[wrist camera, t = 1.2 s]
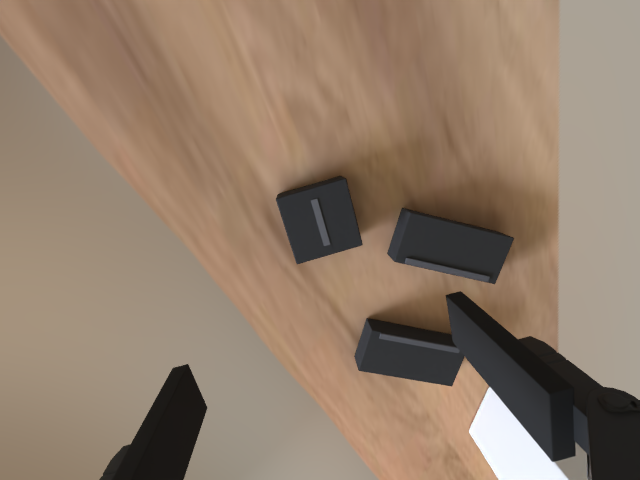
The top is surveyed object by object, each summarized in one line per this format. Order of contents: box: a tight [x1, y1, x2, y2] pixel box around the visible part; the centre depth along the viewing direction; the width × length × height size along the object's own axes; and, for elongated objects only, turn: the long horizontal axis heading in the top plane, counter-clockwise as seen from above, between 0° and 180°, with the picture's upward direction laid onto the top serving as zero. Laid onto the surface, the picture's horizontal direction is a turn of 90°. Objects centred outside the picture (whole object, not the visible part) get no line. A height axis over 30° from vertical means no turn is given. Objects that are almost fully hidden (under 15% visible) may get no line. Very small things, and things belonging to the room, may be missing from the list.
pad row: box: [355, 208, 514, 386], centre depth 34 cm, size 18×11×3 cm, turn 166°
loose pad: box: [276, 176, 362, 264], centre depth 30 cm, size 6×6×3 cm
